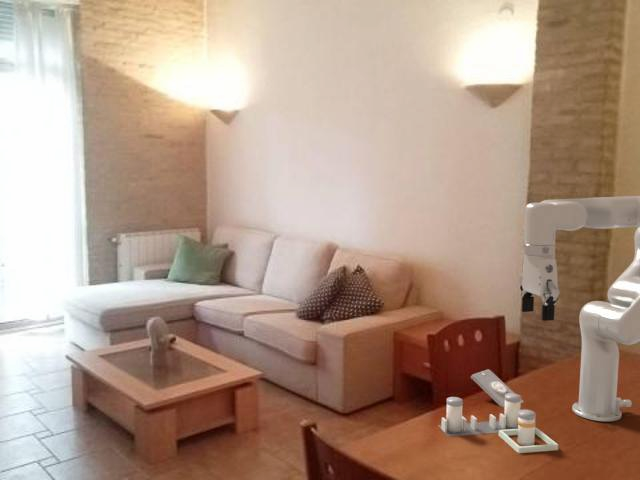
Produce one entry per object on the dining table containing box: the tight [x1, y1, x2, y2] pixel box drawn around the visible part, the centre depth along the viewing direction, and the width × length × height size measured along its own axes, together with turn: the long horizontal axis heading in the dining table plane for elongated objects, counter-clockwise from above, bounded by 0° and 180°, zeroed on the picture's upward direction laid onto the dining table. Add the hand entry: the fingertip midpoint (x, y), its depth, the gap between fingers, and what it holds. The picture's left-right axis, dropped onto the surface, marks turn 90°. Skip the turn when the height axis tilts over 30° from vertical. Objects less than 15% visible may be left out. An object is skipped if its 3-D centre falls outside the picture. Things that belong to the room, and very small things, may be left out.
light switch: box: [470, 368, 524, 409], centre depth 184 cm, size 8×6×14 cm
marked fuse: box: [517, 409, 537, 446], centre depth 154 cm, size 4×4×8 cm
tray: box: [498, 426, 559, 454], centre depth 155 cm, size 10×10×2 cm
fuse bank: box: [437, 392, 522, 438], centre depth 163 cm, size 22×7×9 cm, turn 101°
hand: (537, 315), depth 164 cm, fingers open, 9 cm apart
